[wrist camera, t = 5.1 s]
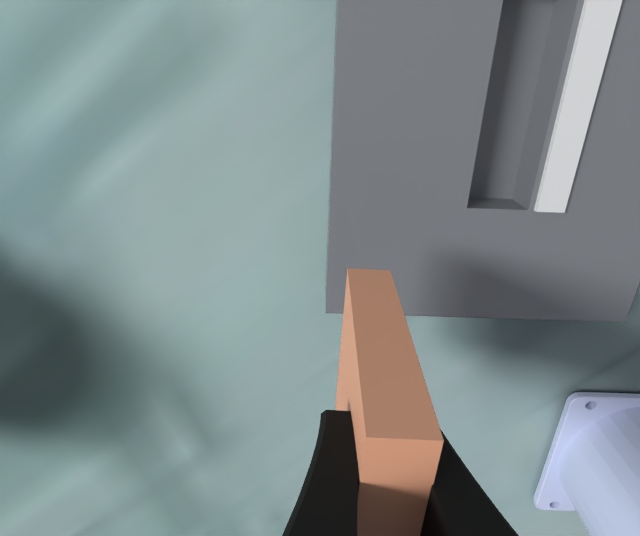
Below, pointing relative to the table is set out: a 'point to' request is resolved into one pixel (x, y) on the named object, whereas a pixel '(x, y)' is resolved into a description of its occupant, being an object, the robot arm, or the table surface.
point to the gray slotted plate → (488, 156)
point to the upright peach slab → (386, 408)
